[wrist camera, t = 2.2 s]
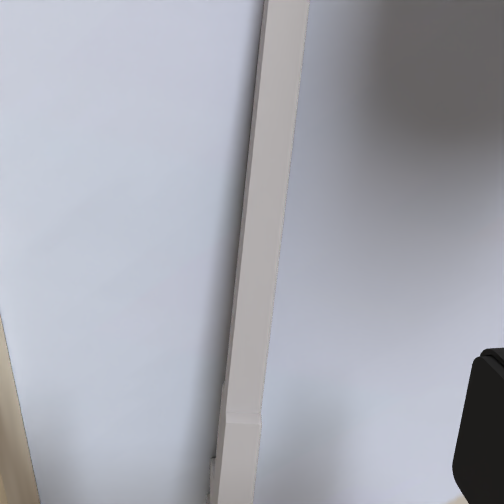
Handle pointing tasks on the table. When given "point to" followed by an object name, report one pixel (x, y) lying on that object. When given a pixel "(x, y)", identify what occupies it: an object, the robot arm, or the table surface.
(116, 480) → the table surface
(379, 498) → the table surface
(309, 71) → the table surface
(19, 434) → the tool rest
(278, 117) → the caliper
